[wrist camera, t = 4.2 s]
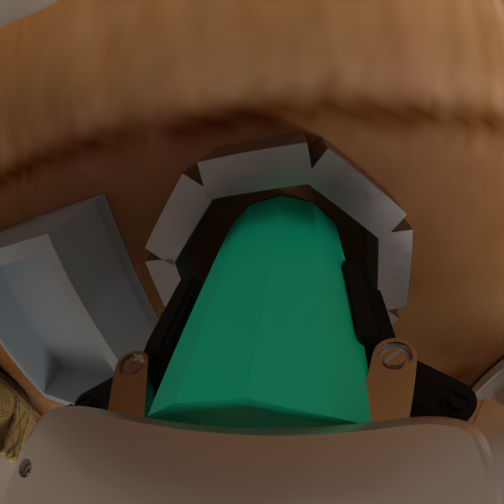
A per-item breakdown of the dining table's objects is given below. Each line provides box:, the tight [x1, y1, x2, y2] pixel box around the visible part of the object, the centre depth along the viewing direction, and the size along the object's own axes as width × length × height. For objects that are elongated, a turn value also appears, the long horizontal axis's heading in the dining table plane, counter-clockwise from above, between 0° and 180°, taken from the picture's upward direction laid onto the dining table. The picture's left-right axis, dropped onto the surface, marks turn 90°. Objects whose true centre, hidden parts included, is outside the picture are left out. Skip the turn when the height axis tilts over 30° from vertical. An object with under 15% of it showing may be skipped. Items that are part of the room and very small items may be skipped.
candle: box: [148, 196, 371, 428], centre depth 10 cm, size 6×6×12 cm
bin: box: [0, 194, 159, 405], centre depth 18 cm, size 16×16×5 cm
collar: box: [145, 133, 413, 325], centre depth 14 cm, size 12×12×3 cm
